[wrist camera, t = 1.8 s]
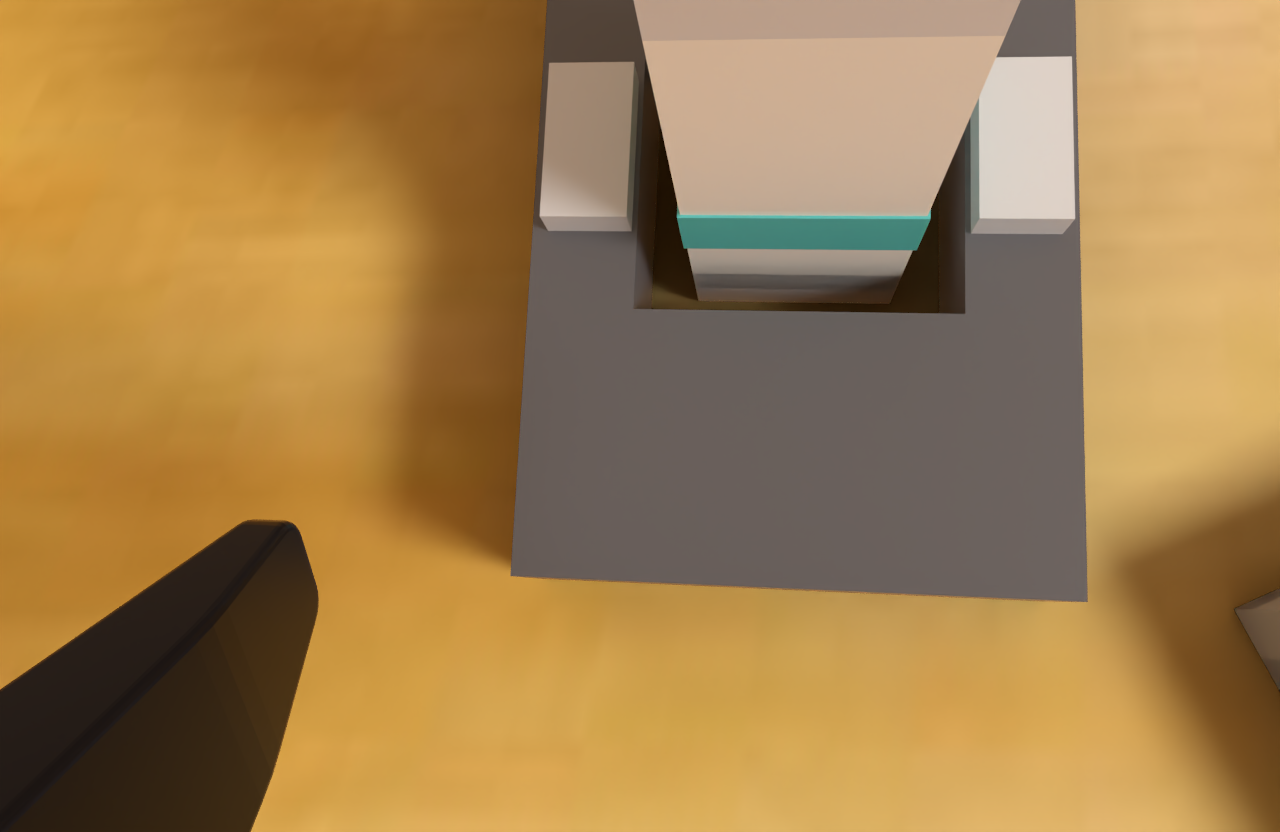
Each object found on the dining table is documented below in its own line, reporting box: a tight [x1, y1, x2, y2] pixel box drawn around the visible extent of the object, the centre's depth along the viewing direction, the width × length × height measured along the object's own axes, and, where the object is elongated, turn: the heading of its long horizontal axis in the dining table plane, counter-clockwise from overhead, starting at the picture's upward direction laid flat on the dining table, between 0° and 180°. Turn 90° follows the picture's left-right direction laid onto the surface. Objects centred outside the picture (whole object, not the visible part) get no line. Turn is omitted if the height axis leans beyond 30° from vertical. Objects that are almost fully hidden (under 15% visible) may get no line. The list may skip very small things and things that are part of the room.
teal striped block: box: [633, 0, 1021, 304], centre depth 17 cm, size 4×4×12 cm
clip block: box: [511, 0, 1088, 602], centre depth 21 cm, size 16×10×4 cm, turn 177°
